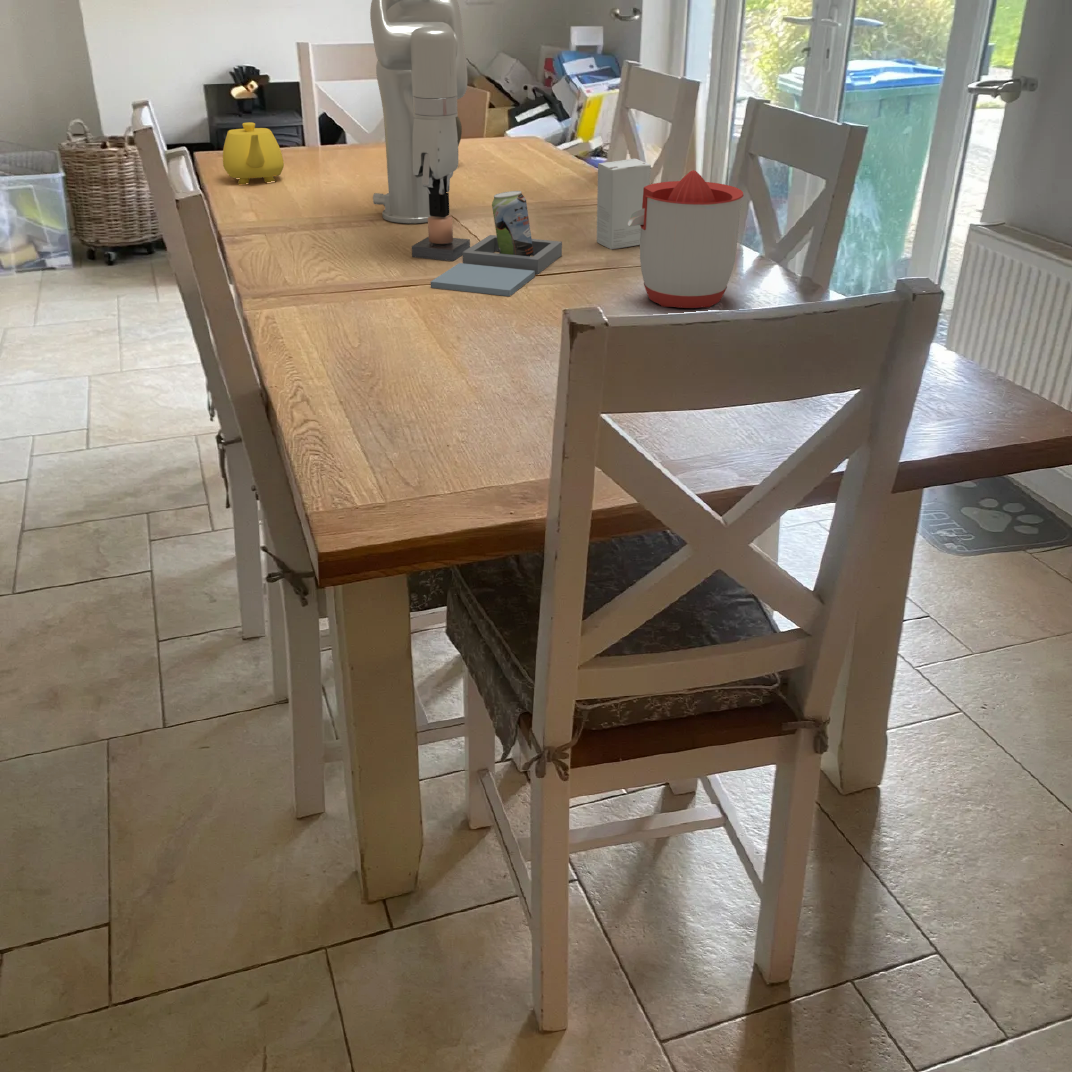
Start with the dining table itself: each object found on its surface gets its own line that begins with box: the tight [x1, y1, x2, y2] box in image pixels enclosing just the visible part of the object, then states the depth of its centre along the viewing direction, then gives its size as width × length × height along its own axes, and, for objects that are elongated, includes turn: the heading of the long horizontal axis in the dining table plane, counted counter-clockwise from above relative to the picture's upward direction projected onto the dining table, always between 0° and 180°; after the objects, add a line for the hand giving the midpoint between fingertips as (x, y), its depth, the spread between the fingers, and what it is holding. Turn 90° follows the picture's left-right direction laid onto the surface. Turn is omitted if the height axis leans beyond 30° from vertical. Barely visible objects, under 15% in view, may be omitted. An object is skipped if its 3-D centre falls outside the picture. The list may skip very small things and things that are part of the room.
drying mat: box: [430, 262, 536, 297], centre depth 180 cm, size 14×12×1 cm
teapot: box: [222, 121, 285, 185], centre depth 247 cm, size 14×20×13 cm
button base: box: [411, 236, 471, 262], centre depth 195 cm, size 8×8×2 cm
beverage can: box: [491, 190, 533, 257], centre depth 188 cm, size 6×7×12 cm
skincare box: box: [596, 158, 652, 250], centre depth 198 cm, size 8×6×15 cm
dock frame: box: [461, 234, 563, 275], centre depth 191 cm, size 14×13×2 cm
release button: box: [427, 215, 454, 244], centre depth 193 cm, size 4×4×4 cm
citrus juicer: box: [628, 169, 744, 309], centre depth 167 cm, size 16×17×20 cm
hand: (439, 215), depth 192 cm, fingers closed
